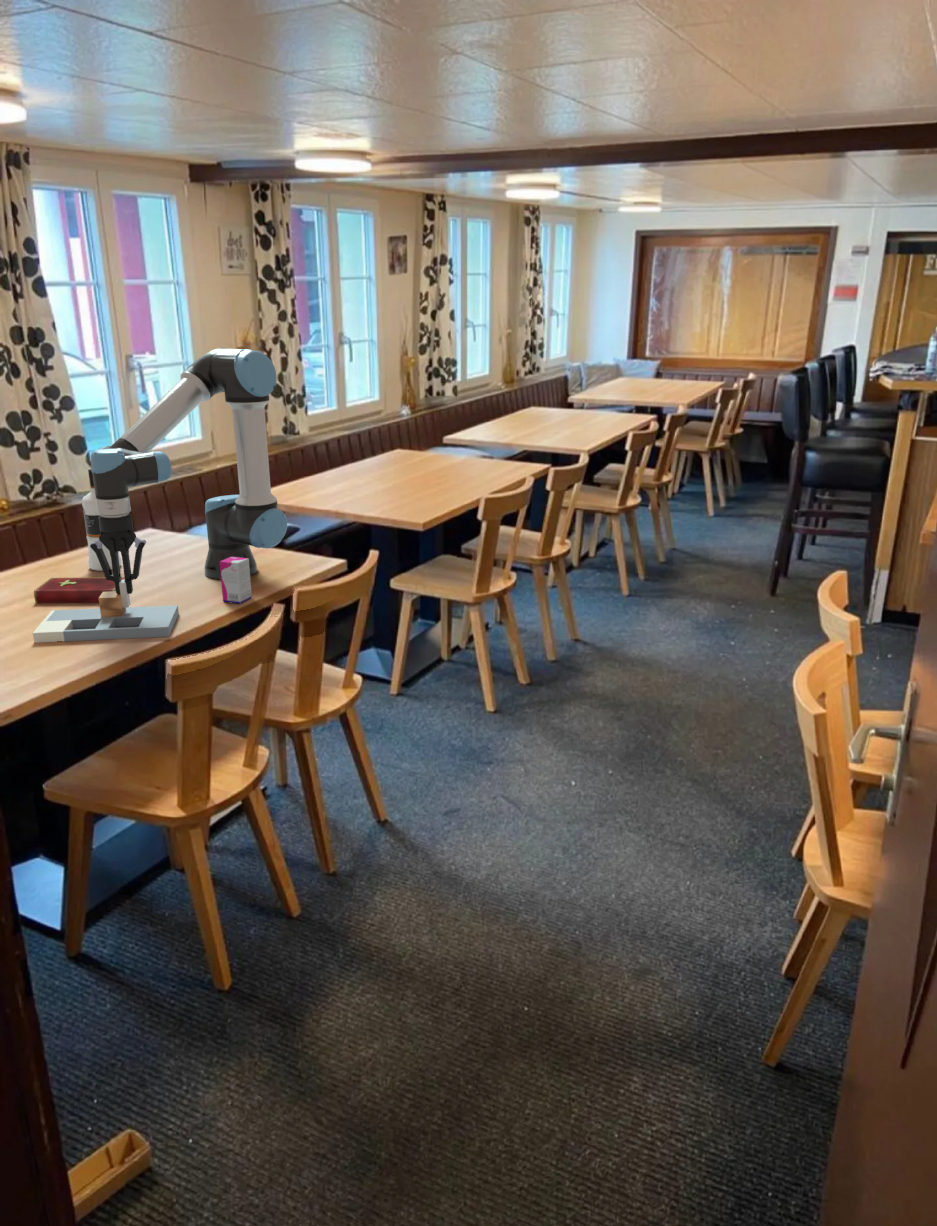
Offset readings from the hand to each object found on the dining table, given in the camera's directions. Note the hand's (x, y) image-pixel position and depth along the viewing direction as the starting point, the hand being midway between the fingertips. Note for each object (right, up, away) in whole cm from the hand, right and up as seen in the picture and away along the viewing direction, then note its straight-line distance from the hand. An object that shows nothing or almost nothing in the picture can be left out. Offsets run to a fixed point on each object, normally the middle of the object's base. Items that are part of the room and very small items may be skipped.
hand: (126, 605), depth 220 cm
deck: (-3, -6, -3) cm, 7 cm away
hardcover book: (-20, +2, +20) cm, 28 cm away
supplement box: (+23, +2, +19) cm, 30 cm away
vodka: (-24, +12, +46) cm, 53 cm away
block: (-3, -2, 0) cm, 4 cm away
